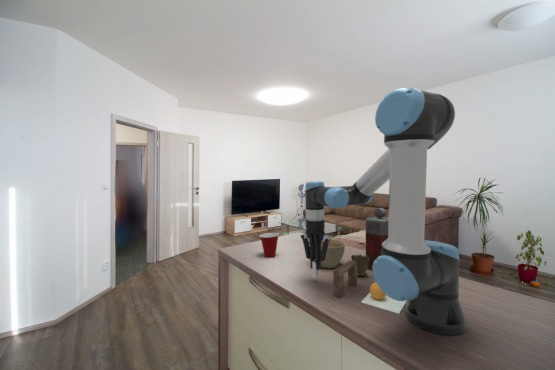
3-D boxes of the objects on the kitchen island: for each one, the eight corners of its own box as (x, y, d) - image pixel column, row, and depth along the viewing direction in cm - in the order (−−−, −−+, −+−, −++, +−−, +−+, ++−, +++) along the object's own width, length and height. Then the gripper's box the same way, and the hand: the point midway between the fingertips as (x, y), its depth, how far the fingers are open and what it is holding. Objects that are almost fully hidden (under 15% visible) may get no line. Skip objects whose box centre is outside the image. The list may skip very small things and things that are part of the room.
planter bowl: (344, 272, 113) (343, 248, 112) (308, 269, 118) (307, 245, 117) (346, 261, 128) (346, 239, 127) (314, 258, 133) (314, 237, 133)
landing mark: (408, 299, 88) (408, 298, 88) (399, 314, 79) (399, 313, 79) (372, 289, 96) (372, 289, 96) (360, 302, 86) (360, 301, 86)
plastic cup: (267, 251, 146) (267, 231, 145) (283, 255, 139) (283, 233, 139) (255, 256, 137) (255, 234, 137) (271, 260, 131) (271, 237, 130)
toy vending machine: (398, 269, 116) (398, 207, 115) (382, 274, 110) (382, 209, 109) (381, 263, 123) (380, 206, 122) (365, 268, 118) (365, 207, 117)
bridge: (357, 284, 101) (357, 261, 100) (341, 298, 89) (341, 272, 89) (350, 282, 103) (349, 259, 102) (333, 296, 91) (333, 270, 91)
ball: (370, 280, 93) (374, 295, 92) (365, 285, 88) (369, 301, 88) (386, 280, 90) (390, 296, 89) (381, 285, 85) (386, 302, 85)
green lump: (370, 279, 105) (370, 260, 105) (352, 277, 107) (352, 259, 107) (368, 272, 113) (367, 254, 112) (350, 271, 114) (350, 253, 114)
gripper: (334, 219, 102) (334, 277, 103) (306, 216, 110) (307, 270, 111) (325, 222, 96) (325, 283, 97) (296, 219, 104) (297, 275, 105)
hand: (315, 276), depth 104 cm, fingers closed
